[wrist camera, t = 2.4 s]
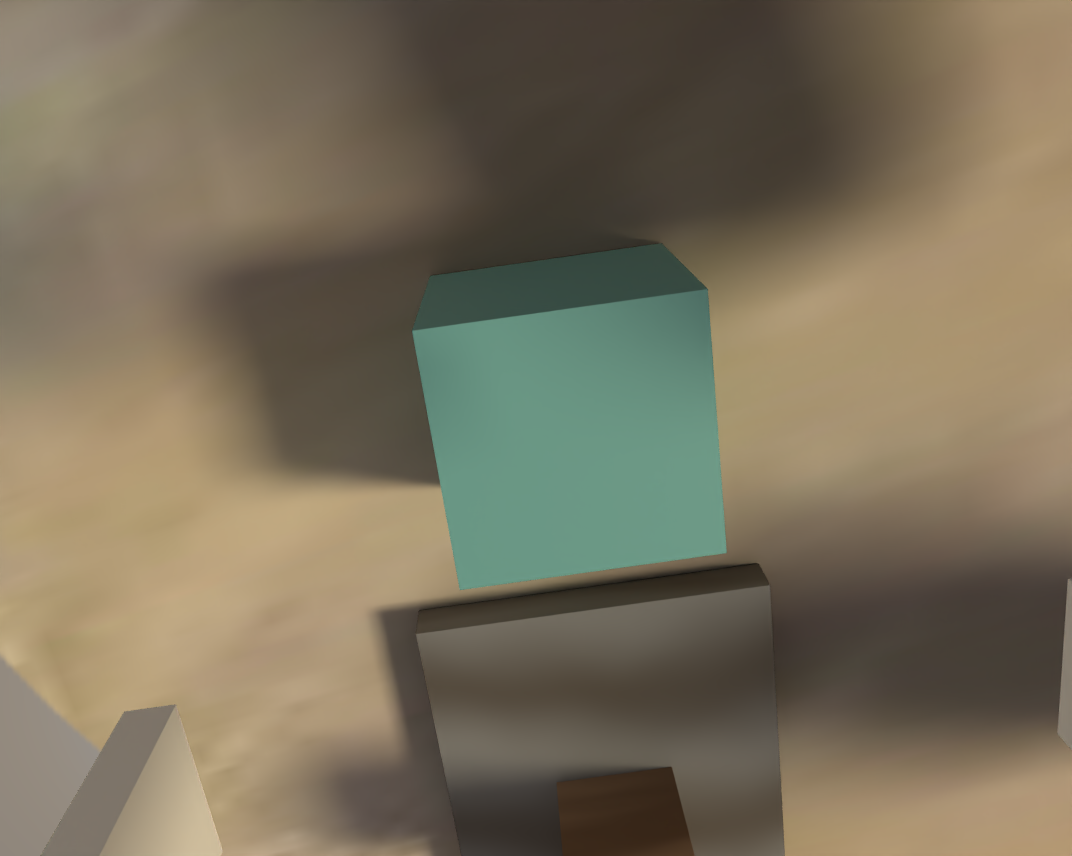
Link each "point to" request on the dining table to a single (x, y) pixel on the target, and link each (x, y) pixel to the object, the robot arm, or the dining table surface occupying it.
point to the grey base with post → (611, 718)
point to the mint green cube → (572, 414)
